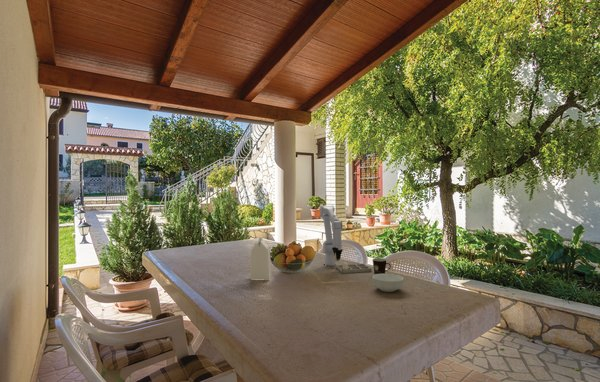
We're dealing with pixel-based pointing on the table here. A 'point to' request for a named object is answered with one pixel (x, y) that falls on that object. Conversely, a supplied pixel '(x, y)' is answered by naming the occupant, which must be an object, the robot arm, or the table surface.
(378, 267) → the coffee mug
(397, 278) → the cereal bowl
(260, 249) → the milk
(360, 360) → the table surface
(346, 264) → the cream egg
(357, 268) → the egg carton
